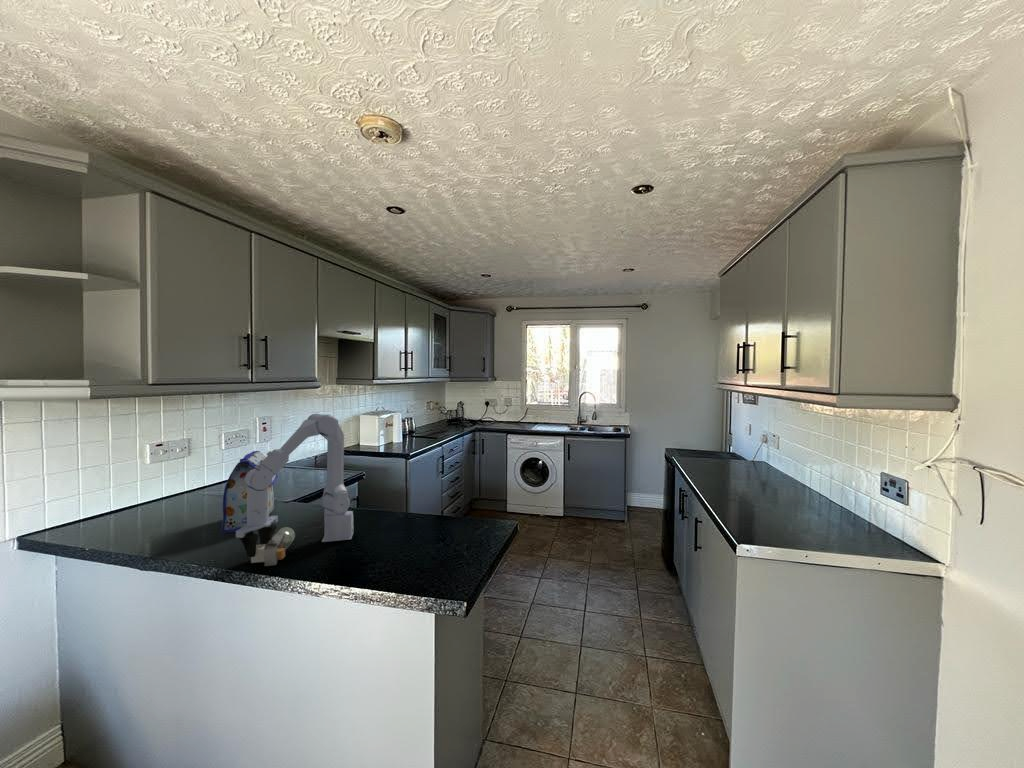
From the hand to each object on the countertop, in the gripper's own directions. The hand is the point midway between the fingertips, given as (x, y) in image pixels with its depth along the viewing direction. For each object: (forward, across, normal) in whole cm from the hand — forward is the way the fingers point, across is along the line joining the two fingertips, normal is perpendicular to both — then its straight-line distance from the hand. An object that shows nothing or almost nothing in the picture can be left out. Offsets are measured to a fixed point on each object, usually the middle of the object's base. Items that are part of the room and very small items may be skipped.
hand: (258, 552), depth 129 cm
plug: (+2, +1, -3) cm, 4 cm away
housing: (+2, +5, -3) cm, 6 cm away
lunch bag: (+3, +31, +31) cm, 44 cm away
